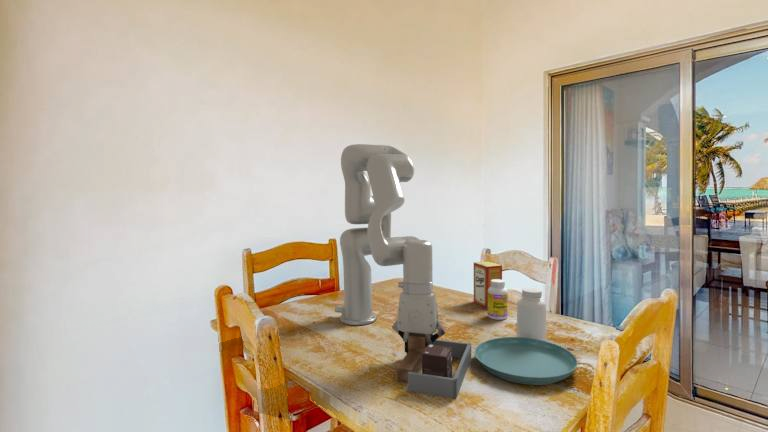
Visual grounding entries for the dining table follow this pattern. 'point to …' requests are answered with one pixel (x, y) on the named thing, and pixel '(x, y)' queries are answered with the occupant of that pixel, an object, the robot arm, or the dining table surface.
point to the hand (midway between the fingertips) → (418, 355)
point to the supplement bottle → (497, 300)
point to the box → (437, 361)
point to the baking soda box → (484, 280)
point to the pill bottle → (531, 315)
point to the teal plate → (526, 360)
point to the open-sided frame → (443, 384)
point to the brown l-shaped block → (412, 357)
